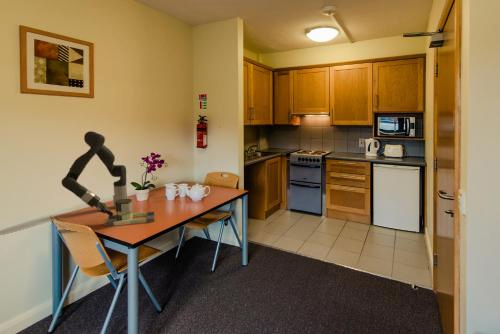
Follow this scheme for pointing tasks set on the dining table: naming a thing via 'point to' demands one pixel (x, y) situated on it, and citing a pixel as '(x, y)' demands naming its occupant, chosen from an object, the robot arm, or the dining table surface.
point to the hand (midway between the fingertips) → (112, 215)
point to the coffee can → (124, 209)
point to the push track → (113, 221)
